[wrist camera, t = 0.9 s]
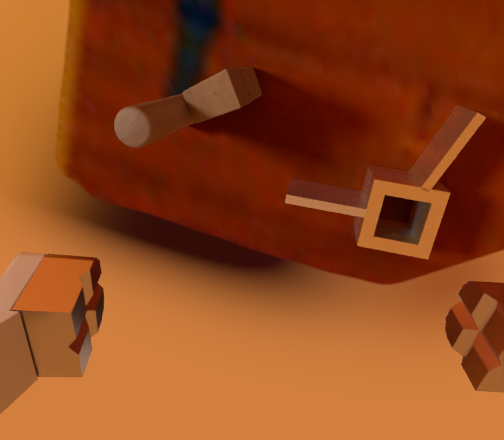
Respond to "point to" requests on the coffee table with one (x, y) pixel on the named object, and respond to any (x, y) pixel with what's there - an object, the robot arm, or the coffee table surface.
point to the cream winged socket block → (397, 193)
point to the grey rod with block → (187, 107)
